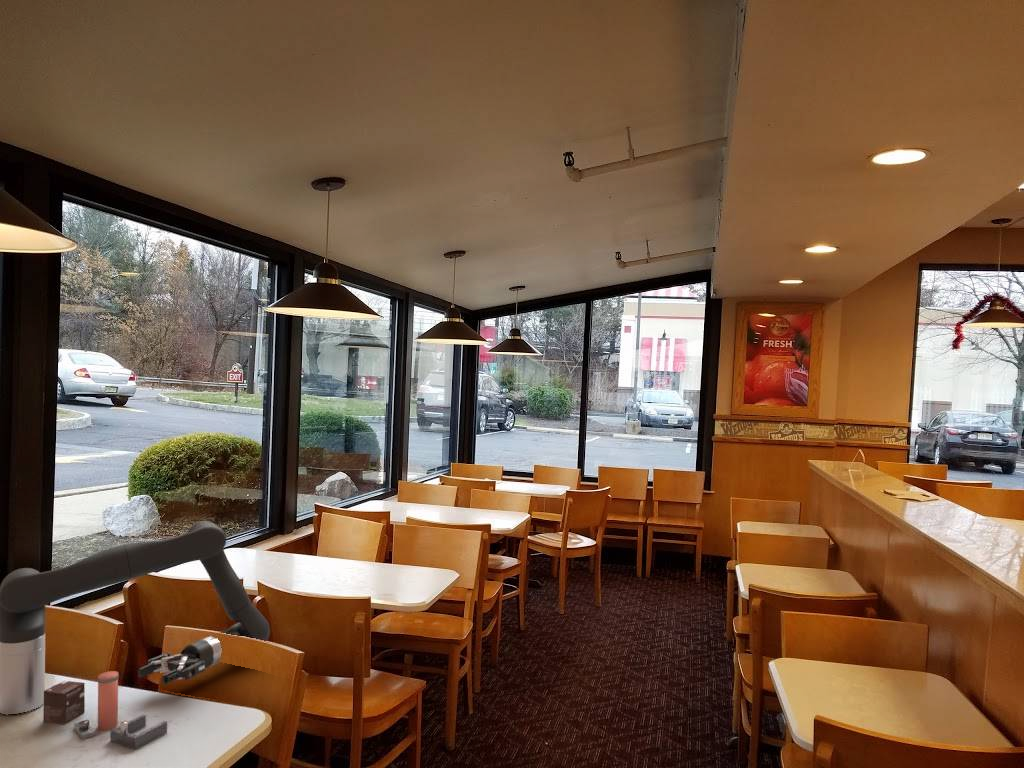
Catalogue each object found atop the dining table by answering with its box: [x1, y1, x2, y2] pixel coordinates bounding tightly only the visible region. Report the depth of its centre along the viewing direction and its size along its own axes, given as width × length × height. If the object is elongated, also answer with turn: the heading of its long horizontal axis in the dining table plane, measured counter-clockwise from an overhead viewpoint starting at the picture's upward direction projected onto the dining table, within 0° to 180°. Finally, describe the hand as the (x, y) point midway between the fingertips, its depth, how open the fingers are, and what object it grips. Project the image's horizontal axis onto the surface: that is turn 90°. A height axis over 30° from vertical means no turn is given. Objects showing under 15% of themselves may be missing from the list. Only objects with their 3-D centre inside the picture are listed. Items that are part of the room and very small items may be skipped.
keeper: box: [109, 714, 168, 751], centre depth 154 cm, size 8×8×5 cm
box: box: [42, 680, 86, 725], centre depth 163 cm, size 6×6×7 cm
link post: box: [97, 670, 120, 732], centre depth 159 cm, size 4×4×12 cm
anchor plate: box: [73, 719, 96, 740], centre depth 156 cm, size 7×2×2 cm, turn 46°
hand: (151, 676), depth 169 cm, fingers open, 8 cm apart
